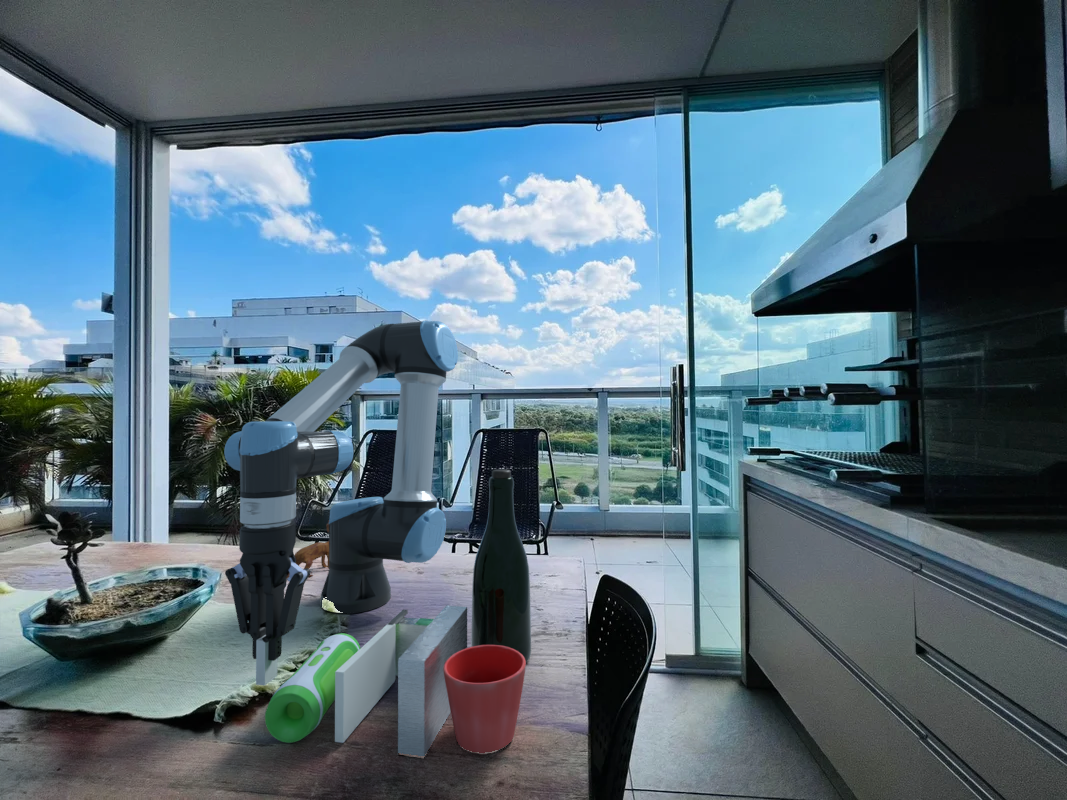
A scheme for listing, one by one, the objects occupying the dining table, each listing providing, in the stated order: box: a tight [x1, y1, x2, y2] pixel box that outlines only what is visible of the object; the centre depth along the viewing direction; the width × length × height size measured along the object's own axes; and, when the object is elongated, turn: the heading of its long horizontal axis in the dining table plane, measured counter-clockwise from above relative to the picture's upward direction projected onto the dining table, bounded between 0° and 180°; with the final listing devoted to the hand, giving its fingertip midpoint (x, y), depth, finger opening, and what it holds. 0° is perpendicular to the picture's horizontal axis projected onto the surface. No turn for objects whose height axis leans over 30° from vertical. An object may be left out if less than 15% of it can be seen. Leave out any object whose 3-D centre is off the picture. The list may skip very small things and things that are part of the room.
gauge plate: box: [334, 609, 409, 744], centre depth 74 cm, size 1×20×9 cm, turn 170°
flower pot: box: [444, 645, 527, 753], centre depth 66 cm, size 11×11×10 cm
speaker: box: [264, 632, 362, 744], centre depth 73 cm, size 18×7×8 cm, turn 0°
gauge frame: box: [395, 605, 468, 756], centre depth 73 cm, size 14×20×12 cm
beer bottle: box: [470, 468, 532, 664], centre depth 87 cm, size 10×10×33 cm
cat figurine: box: [286, 519, 330, 580], centre depth 132 cm, size 18×7×14 cm, turn 143°
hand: (266, 679), depth 74 cm, fingers closed
